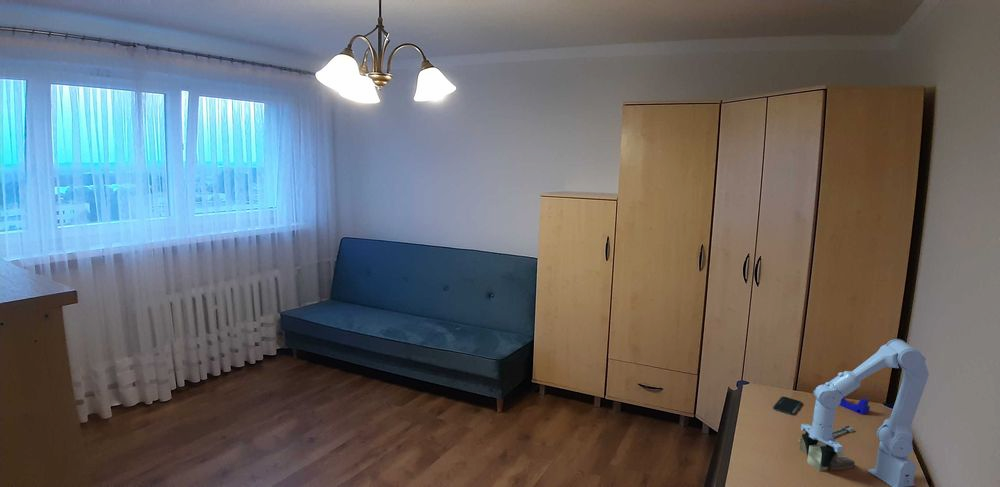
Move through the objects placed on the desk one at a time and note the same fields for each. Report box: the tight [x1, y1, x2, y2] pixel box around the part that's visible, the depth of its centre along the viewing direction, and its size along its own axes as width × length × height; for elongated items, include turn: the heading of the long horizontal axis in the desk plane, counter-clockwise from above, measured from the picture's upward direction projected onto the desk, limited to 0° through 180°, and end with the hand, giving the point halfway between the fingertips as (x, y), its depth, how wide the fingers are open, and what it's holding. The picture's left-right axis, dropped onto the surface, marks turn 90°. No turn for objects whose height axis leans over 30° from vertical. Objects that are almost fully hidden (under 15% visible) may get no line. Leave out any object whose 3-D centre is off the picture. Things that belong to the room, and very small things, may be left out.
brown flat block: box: [799, 441, 856, 471], centre depth 176 cm, size 13×9×2 cm
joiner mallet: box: [806, 445, 838, 472], centre depth 172 cm, size 5×8×6 cm, turn 103°
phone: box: [772, 396, 803, 416], centre depth 214 cm, size 8×1×15 cm
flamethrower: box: [797, 423, 855, 443], centre depth 191 cm, size 29×3×10 cm
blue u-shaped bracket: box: [839, 397, 871, 416], centre depth 215 cm, size 12×4×6 cm, turn 26°
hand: (817, 461), depth 171 cm, fingers open, 5 cm apart
